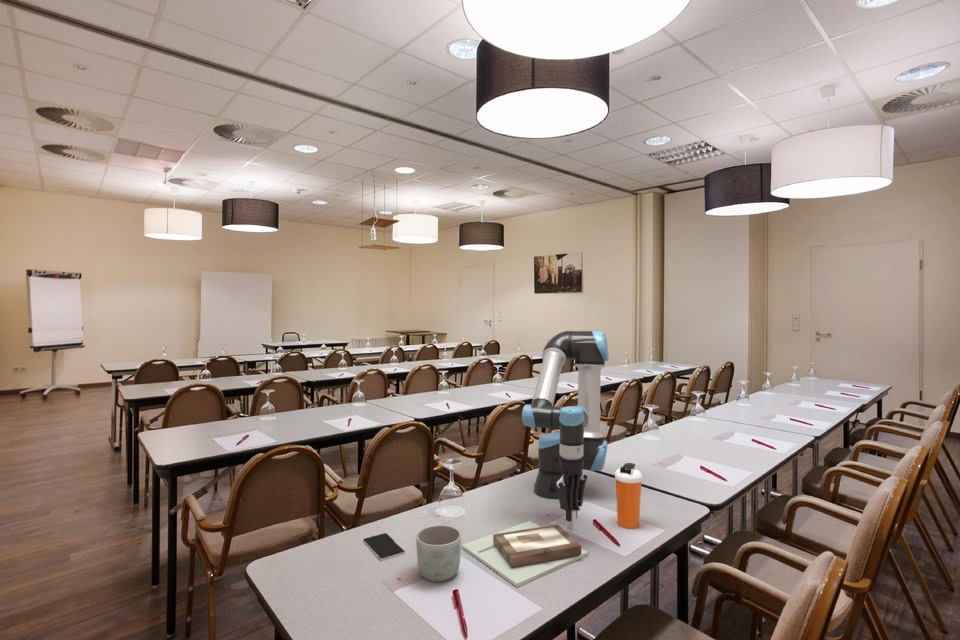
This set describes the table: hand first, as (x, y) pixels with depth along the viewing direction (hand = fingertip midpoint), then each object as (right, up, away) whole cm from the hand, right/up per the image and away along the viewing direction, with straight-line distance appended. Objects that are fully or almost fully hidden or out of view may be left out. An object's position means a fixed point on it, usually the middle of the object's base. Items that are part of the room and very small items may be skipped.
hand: (571, 530), depth 153 cm
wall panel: (-16, -3, -8) cm, 18 cm away
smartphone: (-59, -4, -5) cm, 59 cm away
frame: (-12, -2, -9) cm, 15 cm away
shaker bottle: (+21, -3, +11) cm, 24 cm away
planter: (-41, -4, -20) cm, 45 cm away
